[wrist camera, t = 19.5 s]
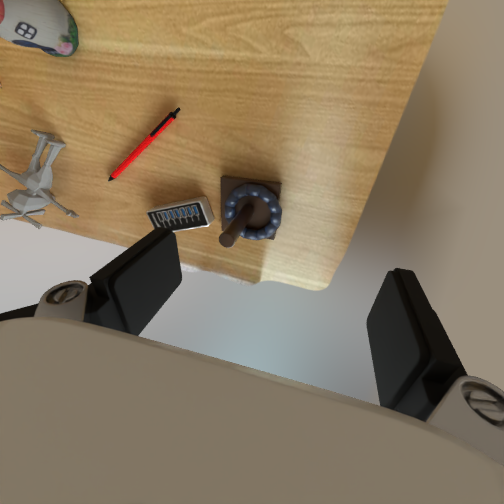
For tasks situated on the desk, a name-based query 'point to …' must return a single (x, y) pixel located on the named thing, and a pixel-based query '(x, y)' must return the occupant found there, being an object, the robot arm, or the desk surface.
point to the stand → (245, 209)
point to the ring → (265, 196)
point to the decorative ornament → (39, 26)
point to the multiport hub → (182, 214)
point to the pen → (145, 143)
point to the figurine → (35, 183)
